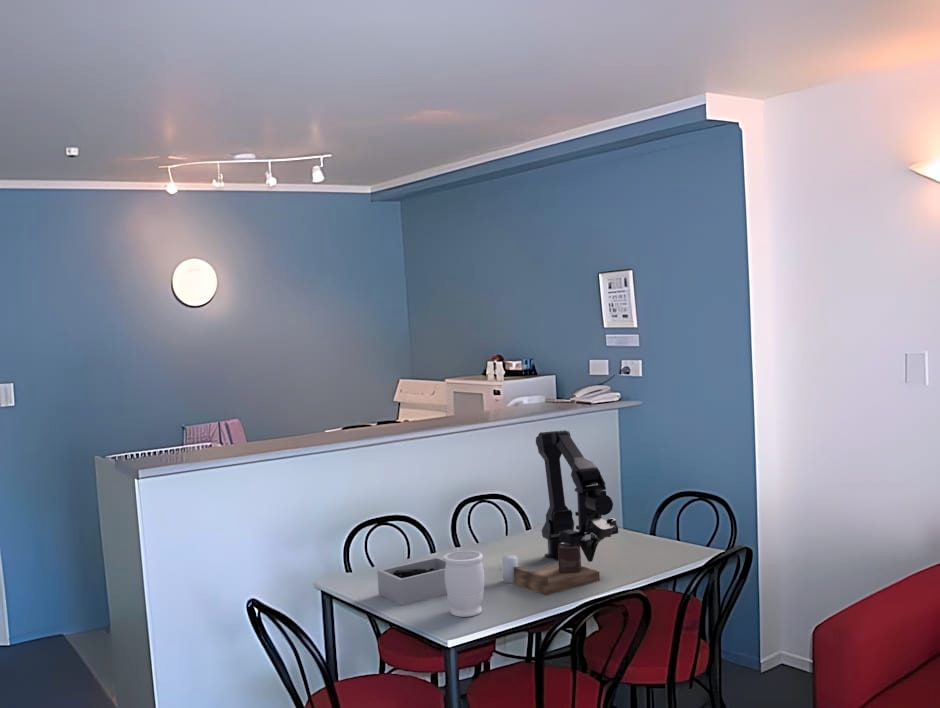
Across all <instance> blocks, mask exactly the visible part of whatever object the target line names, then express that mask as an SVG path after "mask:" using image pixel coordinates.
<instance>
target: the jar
mask: <svg viewBox="0 0 940 708" xmlns="http://www.w3.org/2000/svg"><path fill="white" fill-rule="evenodd" d="M443 559H444V561H445V562H446V566H445V586H446V590H447V594H446V595H447V598H448V602H449V604H450V606H451V608H450V610H449V611H450V614H451V615H452V616H454V617H460V618H466V617H467V618H468V617H470V618H471V617H474V616H477V615H479V614H481V613H482V612H483V608H482V606H481V604H482V601H483V599H484V588H485V570H484V566H483V565H484V564H483V562H482V561H483V560H484V554H483V553H482V552H481V551H477V550H476V551H475V550H458V551H453V552H449V553H446V554H445V555H443Z"/></svg>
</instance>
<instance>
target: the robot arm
mask: <svg viewBox="0 0 940 708" xmlns="http://www.w3.org/2000/svg"><path fill="white" fill-rule="evenodd" d="M537 435H538V436H536V437H535V445H536V447H537V450H538V454H539V455H540V456H541V458H542V459H543V461H544V467H545V468H544V469H545V474H546V475H545V477H546V483H547V484H546V485H547V491H548V492H547V493H548V502H549V508H548V509H547V511H546V514H545V523H544V525H543V527H542V529H541V535H542V538H544V539H545V540H547V551H548V552H547V553H544V557H547V558H550V559H553V560H554V559H555V560H558V546H559V544H560V543H569V544H575V543H580V549H581V550H582V552H583V554H584V556H585V558H586V559H587V562H590V563H591V562H593V560H594V557H595V553H596V551H597V547H598V545H599V543H600V542H601V541H603V540H604V539H605V538H610V537H612V535H616V534H619V526H618V525H617V520H616V519H615V518H613V517H611V518H608V519H603V517H602V516H606V515H609V514H610V513H611V511H612V510H613V507H614V502H613V499H612V498H611V496H609V495H607V491H606V489H607V487H606V481H605V480H604V477H602V474H601V471H600V470H599V468H598V467H597V466H596V464H594V462H593V461H591V460H590V459H589V460H588V459H587V458H585V457H584V455H583V454H582V451H580V449H579V448H578V446H577V445H576V443H575V441H574V440H573V439H572V437H571V432H570V431H568V430H565V429H564V430H553V431H552V430H551V431H545V432H544V431H543V432H539V433H538V434H537ZM561 456H563V457H564V459H565V461H566V462H567V464H568V465H569V467H570V469H571V474H570V477H571V479H572V482H573V484H574V485H575V488H574V492H576V493H577V494H576V495H577V511H575V512H574V513H575V516H577V518H578V525H576V526H575V522H574V518H573V511H572V510H571V509H569V508H568V507H567V505H566V502H565V493H564V484H563V483H564V482H563V476H562V475H563V474H562V468H561V467H562V465H561ZM574 529H575V530H574ZM577 530H578V531H577Z"/></svg>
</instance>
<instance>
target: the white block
mask: <svg viewBox="0 0 940 708" xmlns="http://www.w3.org/2000/svg"><path fill="white" fill-rule="evenodd" d="M501 561H502V563H501V564H502V579H503V580H502V581H503V583H504V584H514V567H516V566H517V567H519V565H518V561H519V560H518V556H517V555H512V554H511V555H510V554H508V555H503V556H502V559H501Z"/></svg>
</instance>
